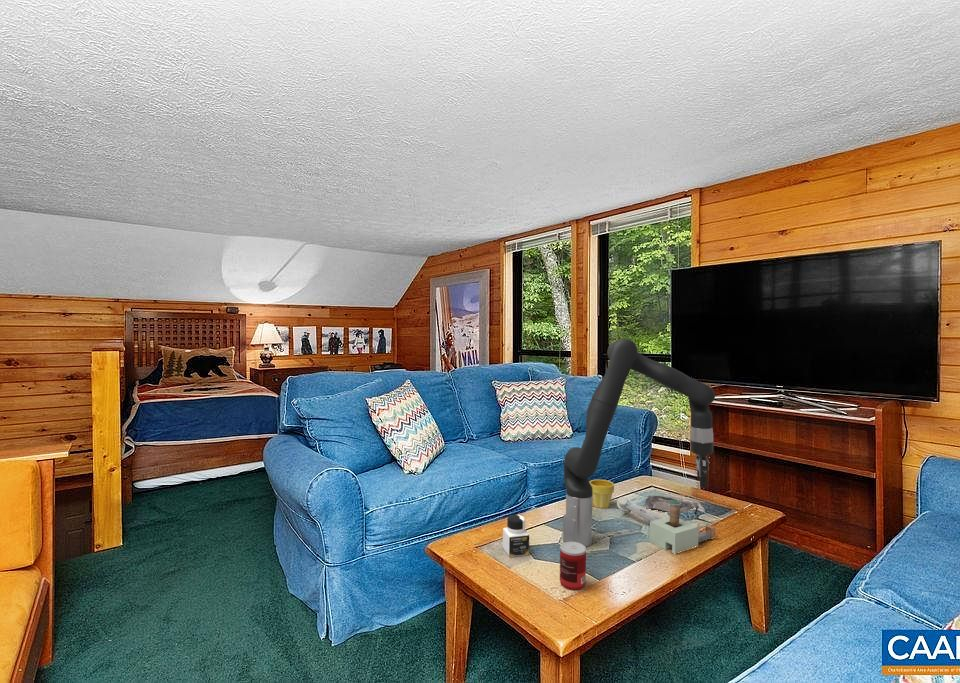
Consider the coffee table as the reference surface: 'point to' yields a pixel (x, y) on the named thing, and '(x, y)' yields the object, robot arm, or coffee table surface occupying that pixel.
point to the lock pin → (707, 533)
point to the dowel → (674, 516)
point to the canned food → (572, 565)
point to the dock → (673, 535)
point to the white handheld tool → (636, 509)
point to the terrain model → (668, 504)
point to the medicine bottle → (515, 537)
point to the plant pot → (602, 492)
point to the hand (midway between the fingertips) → (702, 483)
